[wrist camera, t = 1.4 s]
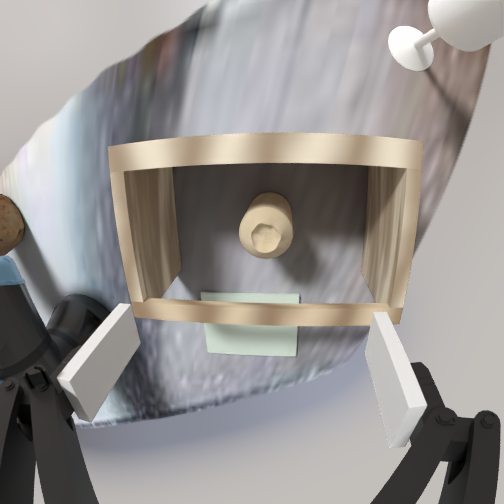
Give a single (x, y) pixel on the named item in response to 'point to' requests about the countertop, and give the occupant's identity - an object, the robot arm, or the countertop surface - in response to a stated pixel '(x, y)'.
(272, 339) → the mat
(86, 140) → the countertop surface
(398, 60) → the champagne flute
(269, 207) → the candle
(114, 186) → the access cubby
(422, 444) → the robot arm
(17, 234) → the block
